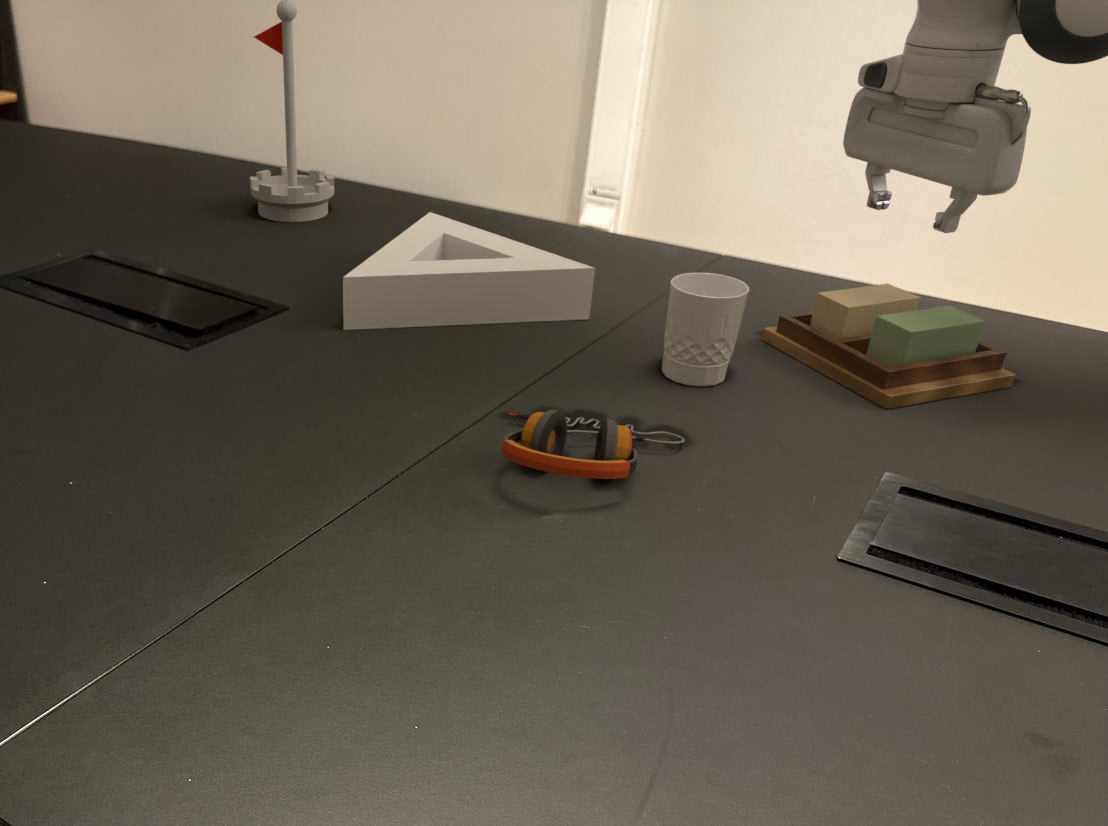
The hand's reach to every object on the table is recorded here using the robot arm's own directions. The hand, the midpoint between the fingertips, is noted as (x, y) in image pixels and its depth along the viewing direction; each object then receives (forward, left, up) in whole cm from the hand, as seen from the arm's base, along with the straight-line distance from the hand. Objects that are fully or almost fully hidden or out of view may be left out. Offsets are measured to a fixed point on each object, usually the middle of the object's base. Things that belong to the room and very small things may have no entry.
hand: (909, 219), depth 110 cm
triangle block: (+34, -29, -16) cm, 48 cm away
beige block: (+1, -2, -14) cm, 14 cm away
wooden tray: (0, +2, -15) cm, 15 cm away
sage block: (-1, +6, -14) cm, 15 cm away
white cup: (+22, -2, -16) cm, 27 cm away
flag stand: (+45, -77, -16) cm, 91 cm away
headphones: (+44, +12, -16) cm, 48 cm away
